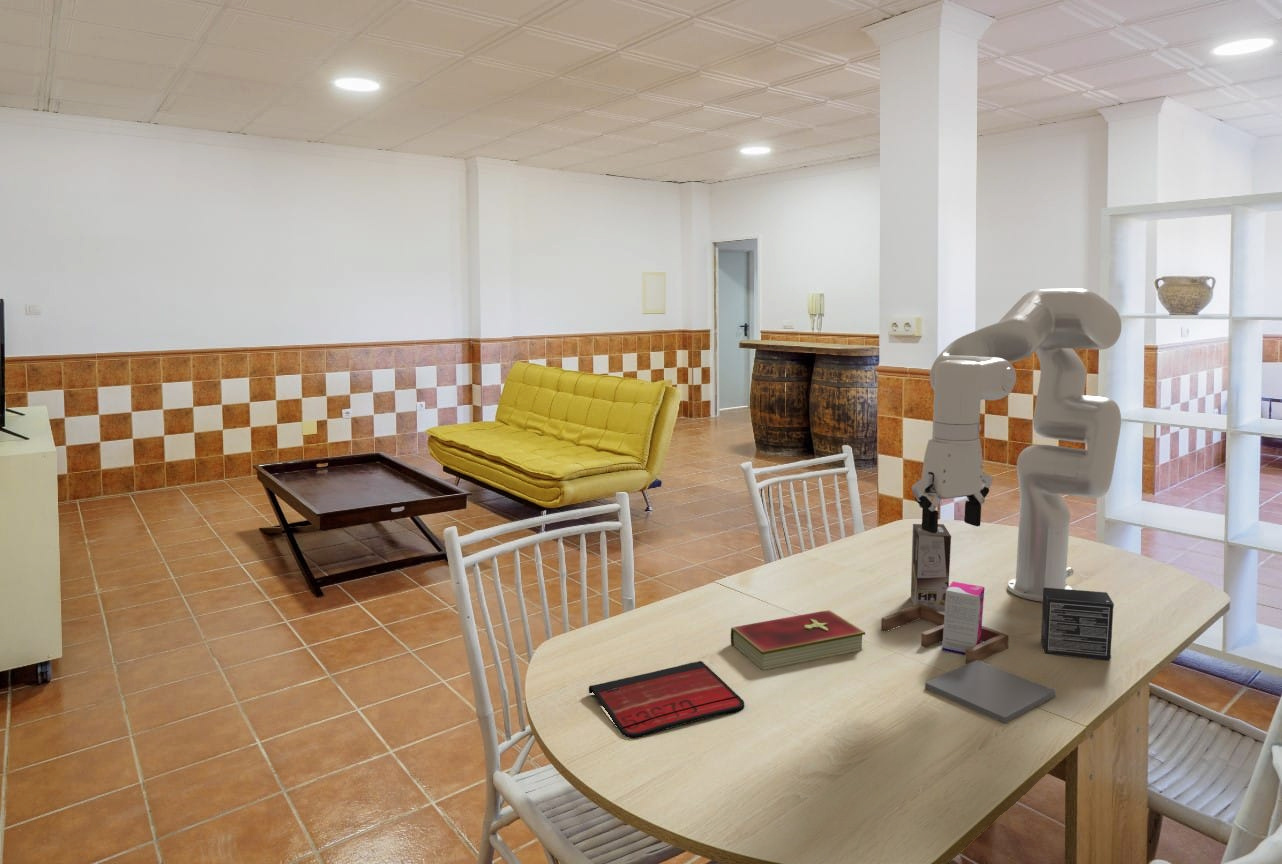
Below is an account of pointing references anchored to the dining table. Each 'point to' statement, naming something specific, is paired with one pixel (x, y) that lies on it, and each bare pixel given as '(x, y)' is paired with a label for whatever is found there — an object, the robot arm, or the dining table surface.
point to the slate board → (990, 690)
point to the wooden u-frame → (987, 648)
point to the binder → (666, 698)
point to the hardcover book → (796, 639)
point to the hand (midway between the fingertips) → (951, 527)
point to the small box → (1077, 623)
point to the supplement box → (962, 617)
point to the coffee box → (930, 566)
